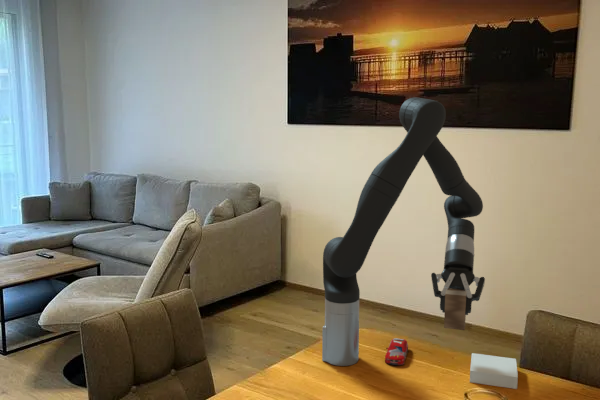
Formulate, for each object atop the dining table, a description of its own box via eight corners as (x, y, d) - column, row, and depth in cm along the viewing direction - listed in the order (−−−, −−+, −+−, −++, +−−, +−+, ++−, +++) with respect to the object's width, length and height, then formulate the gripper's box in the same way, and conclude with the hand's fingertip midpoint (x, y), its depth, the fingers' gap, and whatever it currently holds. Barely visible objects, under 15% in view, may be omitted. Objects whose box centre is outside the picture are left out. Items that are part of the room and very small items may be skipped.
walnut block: (444, 327, 141) (445, 293, 140) (445, 321, 146) (446, 288, 145) (464, 330, 140) (465, 295, 138) (465, 323, 144) (466, 289, 143)
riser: (469, 382, 138) (470, 370, 137) (471, 363, 148) (471, 353, 148) (517, 389, 134) (517, 377, 134) (515, 369, 145) (516, 358, 144)
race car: (403, 369, 146) (403, 354, 145) (382, 366, 147) (383, 351, 147) (410, 349, 158) (410, 335, 157) (391, 346, 160) (391, 333, 159)
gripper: (431, 245, 149) (425, 303, 140) (487, 249, 145) (485, 309, 135) (432, 260, 155) (427, 316, 146) (486, 264, 151) (484, 322, 141)
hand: (455, 312), depth 140 cm, fingers closed on walnut block, 5 cm apart
